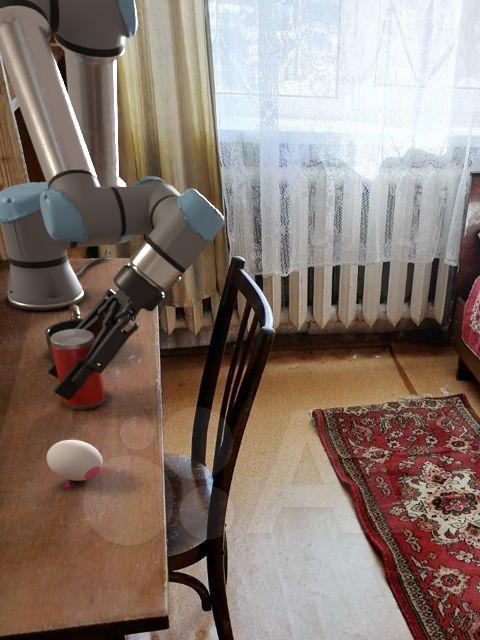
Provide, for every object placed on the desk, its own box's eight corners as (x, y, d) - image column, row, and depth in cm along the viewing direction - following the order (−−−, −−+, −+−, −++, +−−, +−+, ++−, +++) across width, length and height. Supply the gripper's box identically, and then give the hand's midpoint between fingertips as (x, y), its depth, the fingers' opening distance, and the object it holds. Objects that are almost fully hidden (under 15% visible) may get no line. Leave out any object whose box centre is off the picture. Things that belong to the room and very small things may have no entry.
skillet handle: (83, 326, 129) (81, 317, 128) (72, 327, 128) (70, 318, 127) (80, 311, 135) (78, 302, 134) (69, 312, 134) (67, 303, 133)
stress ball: (111, 492, 97) (120, 447, 97) (83, 493, 89) (93, 444, 89) (63, 481, 97) (72, 437, 97) (31, 481, 90) (41, 433, 89)
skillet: (69, 337, 131) (65, 315, 129) (124, 344, 130) (120, 323, 128) (37, 361, 122) (32, 338, 119) (96, 369, 121) (91, 346, 118)
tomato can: (76, 389, 114) (63, 326, 108) (112, 394, 114) (101, 331, 107) (56, 407, 109) (41, 342, 102) (93, 412, 108) (81, 347, 102)
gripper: (182, 314, 101) (88, 425, 104) (151, 273, 115) (69, 372, 118) (142, 283, 96) (44, 401, 98) (115, 244, 110) (30, 349, 112)
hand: (58, 385), depth 108 cm, fingers closed on tomato can, 7 cm apart
